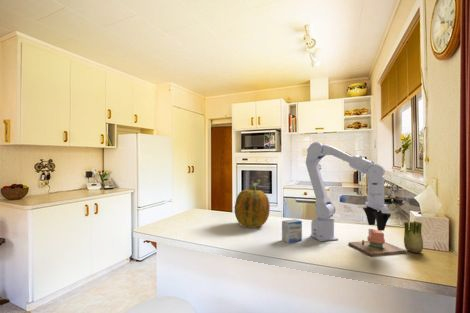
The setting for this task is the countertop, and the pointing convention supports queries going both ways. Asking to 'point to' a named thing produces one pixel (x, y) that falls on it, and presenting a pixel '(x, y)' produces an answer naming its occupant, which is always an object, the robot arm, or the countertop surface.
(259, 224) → the pumpkin
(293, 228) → the medicine box
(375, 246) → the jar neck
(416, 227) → the fennel bulb
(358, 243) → the board
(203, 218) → the countertop surface
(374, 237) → the lid
